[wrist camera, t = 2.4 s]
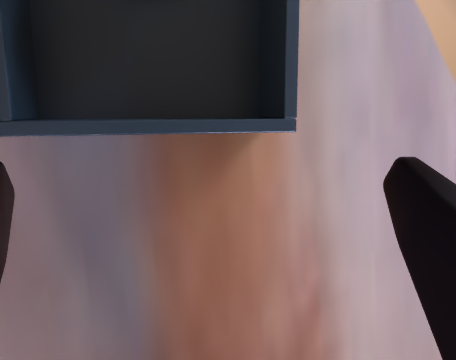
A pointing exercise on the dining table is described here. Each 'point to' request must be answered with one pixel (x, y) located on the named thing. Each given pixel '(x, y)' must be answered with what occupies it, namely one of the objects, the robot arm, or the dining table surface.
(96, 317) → the dining table surface
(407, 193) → the robot arm
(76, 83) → the box
